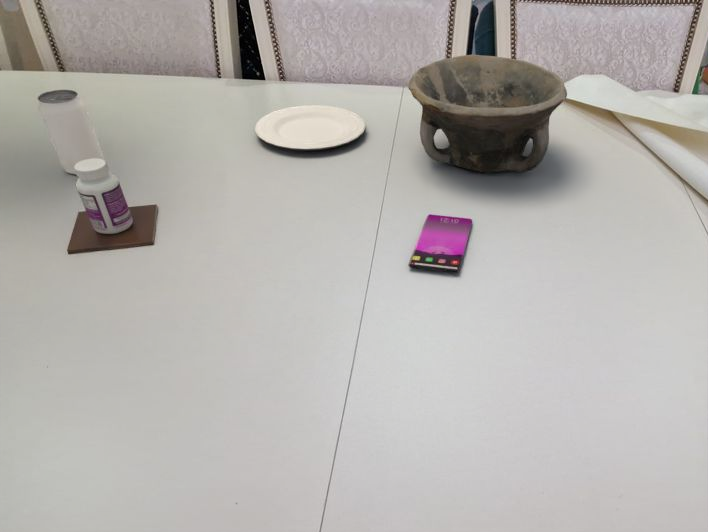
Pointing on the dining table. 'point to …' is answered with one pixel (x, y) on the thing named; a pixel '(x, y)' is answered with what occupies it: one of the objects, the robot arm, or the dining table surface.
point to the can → (69, 128)
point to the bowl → (487, 111)
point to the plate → (310, 127)
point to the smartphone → (441, 243)
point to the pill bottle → (102, 197)
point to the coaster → (135, 235)
